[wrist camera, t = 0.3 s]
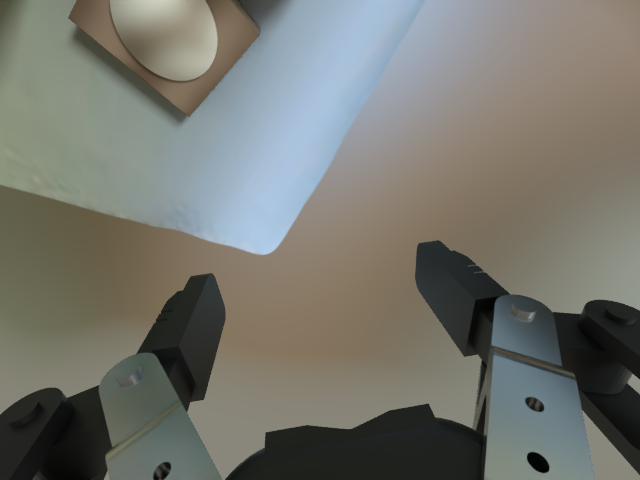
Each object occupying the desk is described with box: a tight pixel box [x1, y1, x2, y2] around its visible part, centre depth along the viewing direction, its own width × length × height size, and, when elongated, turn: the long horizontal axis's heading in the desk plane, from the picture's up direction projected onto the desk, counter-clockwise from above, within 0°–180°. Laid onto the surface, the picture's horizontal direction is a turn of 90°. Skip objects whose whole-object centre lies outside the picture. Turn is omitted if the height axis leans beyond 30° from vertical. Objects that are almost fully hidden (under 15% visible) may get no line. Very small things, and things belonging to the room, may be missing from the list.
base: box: [68, 0, 260, 117], centre depth 28 cm, size 12×12×4 cm
